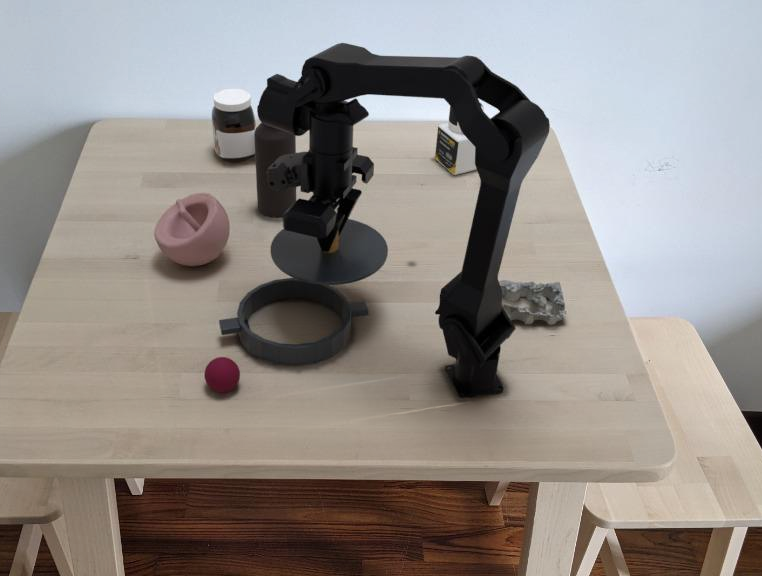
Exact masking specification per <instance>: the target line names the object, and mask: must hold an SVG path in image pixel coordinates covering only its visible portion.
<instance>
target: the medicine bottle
mask: <svg viewBox="0 0 762 576" xmlns="http://www.w3.org/2000/svg"><path fill="white" fill-rule="evenodd" d="M480 105H481V107H482V110H483V111H484V110H485V107H484V105H483V103H481V102H480ZM484 112H485V111H484ZM448 113H449V114H448V121H447V122H445V123H439V124H438V125H437V133H436V145H435V151H434V152H435V153H434V160H436V161H437V162H438V163H439V164H440V165H441V166H442V167H444V168H445V169H446V170H448V171H449V173H451V174H452V175H453V176H457V175H461V174H464V173H468V172H474V171H477V169H476V166H475V146H474V145H473V144H472V143H471V142H470V141H469V140H468V139H467V138H466V136H465V135H464V134H463V133H462V131H461V129H460V126H459V124H458V121H457V119H456V116H455V114H454V111H453V109H452V107H451V106H450V105H449V112H448Z"/></svg>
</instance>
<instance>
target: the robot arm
mask: <svg viewBox="0 0 762 576" xmlns="http://www.w3.org/2000/svg"><path fill="white" fill-rule="evenodd" d="M300 73H301V76H300V78H299V79H298V80H297V81H296V80H293V79H290V78H288V77H286V76H285V75H282V74H279V73H276V74H273V75H271V76H269V77H268V78H266V87H265V89H264V90H263V91H262V93H261V95H260V98H259V101H258V104H257V106H256V110H257V111H256V112H257V117H258V120H259V121H260V123H261V122H262V123H263V124H265V125H268V126H271V127H274V128H276V129H279V130H282V131H284V132H287V133H290V134H293V135H295V136H296V137H301V136H303V135H305V134H306V133H307V132H308V131H309V133H308V139H309V141H308V142H309V143H308V146H309V150H308V151H299V152H296V153H292V154H286V155H283V156H280V157H279V158H278V159H277V160H276V161H275V162H274V163H273V164H272V165H271V166H270V167H269V168H268V171H267V172H266V174H267V179H266V183H267V184H269V186H270V188H271V189H273V190H277V191H280V190H283V189H287V188H292V187H296V188H299V187H300V192H301V193H306V194H310V193H312V195H311V196H310V198H309V199H304V198H300V197H299V198H298V199H296V201H295V202H294V203H293V204H292V205H291V206H290V207H289V209H288V210H287V211H286V212H285V213H284V214H283V218H282V229H285V230H287V231H291V232H295V233H299V234H304V235H308V236H312V237H316V238H317V240H318V242H319V245H320V248H321V250H322V251H325V252H329V250H330V248H331V246H332V244H333V242H334V239H335V237H336V235H337V232H338V230H339V236H340V234H341V232H342V230H343V228H344V226H345V224H346V222H347V220H348V219H350V216H351V214H352V213H353V210H354V208H355V207H356V205H357V203H358V201H359V199H360V197H361V196H362V194H363V191H362V190H361V189H358V188H354V187H355V185H356V183H357V175H355V174H358V175H361V182H362V183H363V184H369V182H370V181H371V180H372V178H373V177H374V175H375V173H374V172H375V163H374V162H373V161H372V159H371V158H370V157H369V156H367V155H361V154H358V147H355V146H354V126H355V125H356V124H358V123H360V122H361V121H364V120H365V119H366V118H368V117H369V115H370V113H369V111H368V110H367V108H366V107H365V106H364V105H362V104H361V103H360V102H359V100H358V99H357V98H358V97H361V96H367V95H372V96H391V97H407V98H422V99H423V98H426V99H440V100H441V99H444V101H445V102H446V103H447V104H448V105H449V107H450V106H451V107H452V109H453V111H454V114H455V116H456V119H457V121H458V124H459V126H460V129H461V131H462V133H463V134H464V135H465V136H466V138H467V139H468V140H469V141H470V142H471V143H472V144H473V145H474V146H475V166H476V169H477V170H476V171H477V175H478V177H479V181H480V183H479V189H478V193H477V194H478V195H477V199H476V203H475V208H474V213H473V217H472V221H471V226H470V231H469V236H468V239H467V244H466V245H467V246H466V249H465V254H464V258H463V263H462V268H461V271H460V272H459V273H458V274H456V275H455V276H454V277H453V278H452V279H451V280H449V281H448V282H447V283H446V284H445V285H444V286H443V287H442V288H441V289H440V292H439V303H438V308H437V309H436V310H435V312H434V314H435V315H438V326H439V328H440V329H441V331H442V333H443V338H444V342H445V346H446V349H447V350H446V351H447V354H448V356H450V357H452V358H454V359H455V361H454V364H447V365H445V367H444V372H445V374H446V375H447V377H448V379H449V381H450V383H451V385H452V386H453V389H454V391H455V393H456V394H457V396H458V398H460V399H464V398H465V399H466V398H473V397H479V396H486V395H492V394H500V393H503V392H504V390H505V387H504V385H503V383H502V382H501V380H500V377H499V376H498V375H497V372H498V367H499V362H500V356H501V355H500V354H501V349H502V347H501V346H502V344H504V343H505V341H506V340H508V339H509V338H511V336H512V335H513V334H514V332H515V331H516V326H515V324H514V323H513V322H512V321H513V320H510V318H509V317H508V315H507V314H506V312H505V311H504V309H503V307H502V303H503V297H502V289H501V286H500V284H499V273H500V269H501V265H502V262H503V258H504V253H505V249H506V245H507V242H508V237H509V234H510V230H511V227H512V221H513V218H514V213H515V210H516V206H517V202H518V198H519V194H520V190H521V186H522V184H523V181H524V179H525V178H526V177H527V174H529V171H530V170H531V169H532V168H533V165H534V163H535V162H536V160H537V159H538V157H539V156H540V153H541V151H542V149H543V147H544V145H545V143H546V140H547V138H548V136H549V133H550V126H551V124H550V119H549V118H548V117H547V115H546V114H545V111H544V110H543V109H542V108H541V107H540V106H539V105H538V103H537V104H536V103H535V102H533V101H532V100H530V98H529V97H528V96H527V95H526V94H525V93H524V92H523V91H522V90H521V88H520V87H518V86H517V85H516V84H514V83H513V82H511V81H509V80H507V79H506V78H503V77H502V76H500V75H498V74H496V73H494V72H493V71H492V69H490V68H489V67H488V66H487V65H486V64H485V62H484V61H482V59H480V58H479V57H477V56H474V55H463V56H460V57H459V56H458V57H454V56H452V57H448V56H414V55H413V56H408V55H380V54H375V53H372V52H371V51H369V50H368V48H366V47H363V46H359V45H355V44H352V43H347V42H346V43H345V42H340V43H336V44H334V45H332V46H330V47H328V48H326V49H324V50H322V51H320V52H318V53H317V54H315V55H312V56H311V57H308V58H307V59H305V61H304V63H303V65H302V67H301V71H300ZM350 99H352V100H350ZM348 100H350V101H348ZM480 100H481V101H482V102H484V103H486V104H487V105H489V106H491V107H493V108H495V109H497V110H498V112H497V113H496V114H494V115H493V116H492V117H489V116H488V114H487V113H486V112H485V111H483V110H482V107H481V105H480V103H481V102H480Z"/></svg>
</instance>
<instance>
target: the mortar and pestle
mask: <svg viewBox="0 0 762 576" xmlns="http://www.w3.org/2000/svg"><path fill="white" fill-rule="evenodd" d="M230 225H231V224H230V219H229V216H228V213H227V211H226V209H225V207H224V206H223V205H222V203H221V201H219V200H218V199H217V198H216V197H215V196H213V195H212V194H210V193H207V192H197V193H193V194H190V195H188V196H185V197H183V198H181V199H180V198H178V199H175V203H174V204H173V205H170V207H169V208H167V209H166V210H165V211H164V213H163V214H162V215H161V217H160V218H159V219H158V221H157V223H156V225H155V228H154V233H153V234H154V235H153V236H154V239H155V242H156V244H157V247H158V248H159V250H160V251H161V252H162V254H164V256H166V257H167V258H168V259H170V260H171V261H172V262H174V263H176V264H179V265H181V266H185V267H186V266H187V267H199V266H202V265H206V264H208V263H211V262H212V261H214V260H215V259H217V258H218V257H219V256H220V255H221V254H222V252H223V251H224V249H225V248H226V246H227V244H228V241H229V237H230V232H231V231H230V230H231V229H230V228H231V226H230Z"/></svg>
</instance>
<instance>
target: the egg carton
mask: <svg viewBox="0 0 762 576" xmlns="http://www.w3.org/2000/svg"><path fill="white" fill-rule="evenodd" d="M498 281H499V280H498ZM499 284H500V286H501V289H502V298H504V299H505V300H506V301H507V302H508V301H509V302H517V301H518V300H519V299H520V298H526V299H527V300H528V301H530V303H529V308H528V307H526V306H524V307H519V306H518V305H516V306H515V305H512V304H509V303H504V302H502V307H503V309H504V311H505V312H506V314H507V315H508V317H509V318H510V320H511V321H513V320H519V321H521V322H523V323H524V324H525V325H532V324H533V323H534V322H535V321H543V322H545V323H546V324H547V325H553V326H554V325H556V323H557V322H559V321H562V320H563V316H564V315H567V310H566V302H565V300H564V294H563V293H564V292H563V291H562V285H561V282H560V281H556V282H549V283H546V284H544V283H542V282H539V283H536V281H535V282H534V281H529V282H528V281H527V282H525V281H519V282H518V281H517V282H516V281H511V280H507V279H501V280H500V281H499ZM547 299H549V301H551V302H552V307H551V312H549V311H548V310H546V308H547V304H548V302H547V301H548V300H547Z"/></svg>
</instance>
